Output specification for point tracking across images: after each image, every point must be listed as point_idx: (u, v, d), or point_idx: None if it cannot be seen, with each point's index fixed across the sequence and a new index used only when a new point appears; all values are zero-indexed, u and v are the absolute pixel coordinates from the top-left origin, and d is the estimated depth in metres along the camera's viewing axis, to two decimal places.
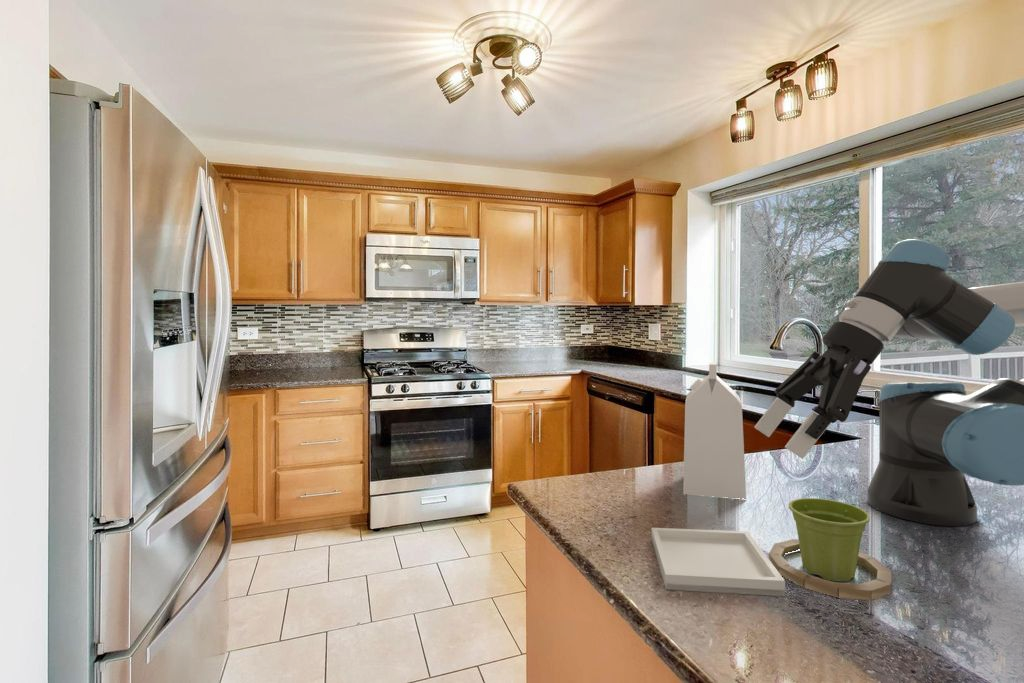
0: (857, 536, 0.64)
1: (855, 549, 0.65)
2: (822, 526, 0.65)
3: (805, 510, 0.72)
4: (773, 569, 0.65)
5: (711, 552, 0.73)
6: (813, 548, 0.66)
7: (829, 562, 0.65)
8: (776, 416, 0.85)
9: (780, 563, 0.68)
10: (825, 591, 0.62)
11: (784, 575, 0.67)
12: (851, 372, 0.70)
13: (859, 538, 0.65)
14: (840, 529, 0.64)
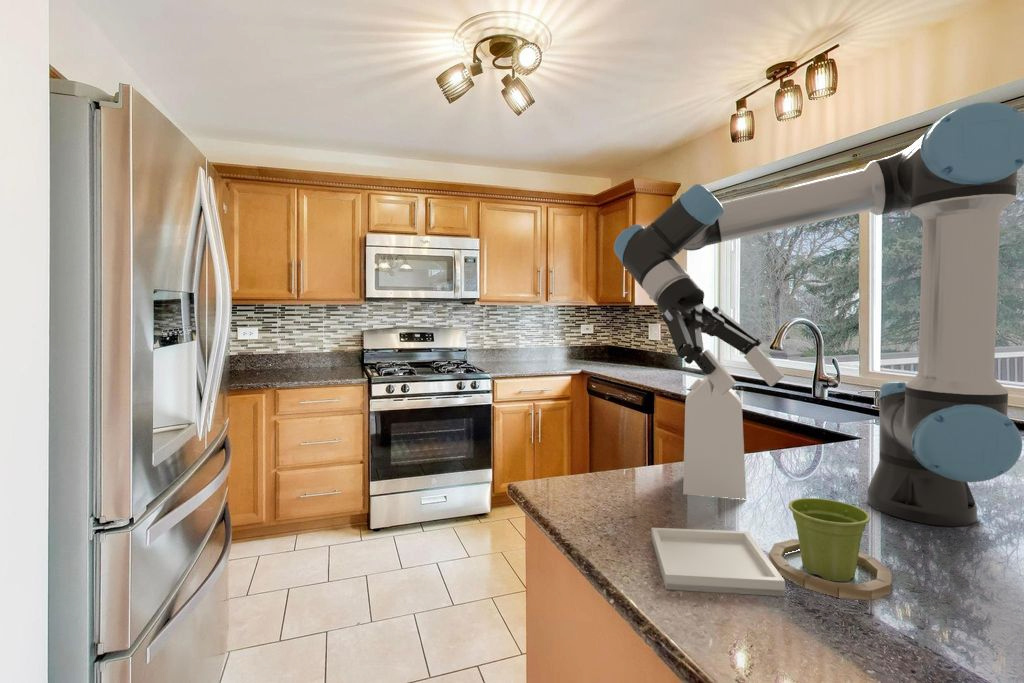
0: (857, 536, 0.64)
1: (855, 549, 0.65)
2: (822, 526, 0.65)
3: (805, 510, 0.72)
4: (773, 569, 0.65)
5: (711, 552, 0.73)
6: (814, 548, 0.66)
7: (829, 562, 0.65)
8: (761, 363, 0.81)
9: (780, 563, 0.68)
10: (825, 591, 0.62)
11: (784, 575, 0.67)
12: (669, 323, 0.80)
13: (859, 538, 0.65)
14: (840, 529, 0.64)
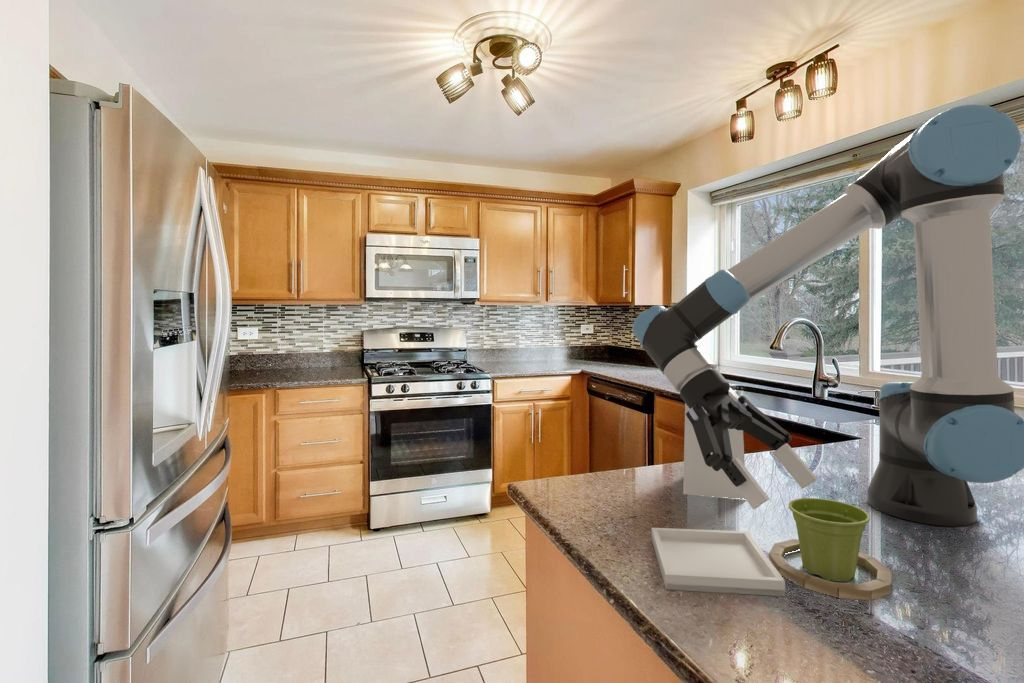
0: (857, 535, 0.64)
1: (855, 549, 0.65)
2: (822, 526, 0.65)
3: (805, 510, 0.72)
4: (773, 569, 0.65)
5: (711, 552, 0.73)
6: (813, 548, 0.66)
7: (829, 562, 0.65)
8: (792, 462, 0.77)
9: (780, 563, 0.68)
10: (825, 591, 0.62)
11: (784, 575, 0.67)
12: (694, 423, 0.76)
13: (859, 538, 0.65)
14: (840, 529, 0.64)
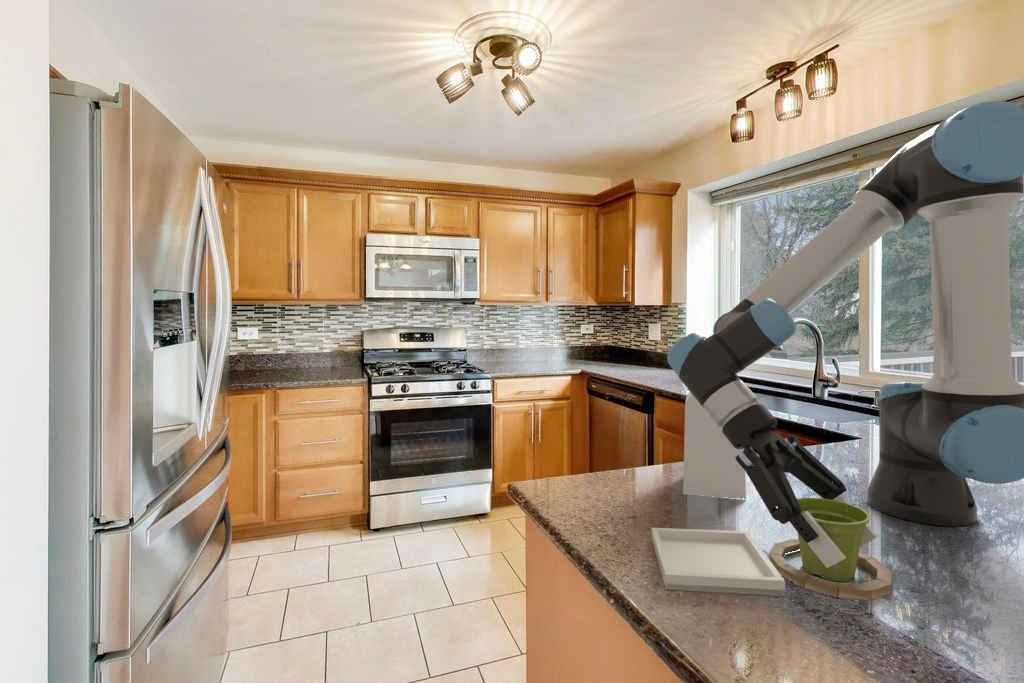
0: (857, 535, 0.64)
1: (855, 549, 0.65)
2: (822, 526, 0.65)
3: (805, 510, 0.72)
4: (773, 569, 0.65)
5: (711, 552, 0.73)
6: None
7: None
8: None
9: (780, 563, 0.68)
10: (825, 591, 0.62)
11: (784, 575, 0.67)
12: (748, 469, 0.70)
13: (859, 538, 0.65)
14: (840, 529, 0.64)
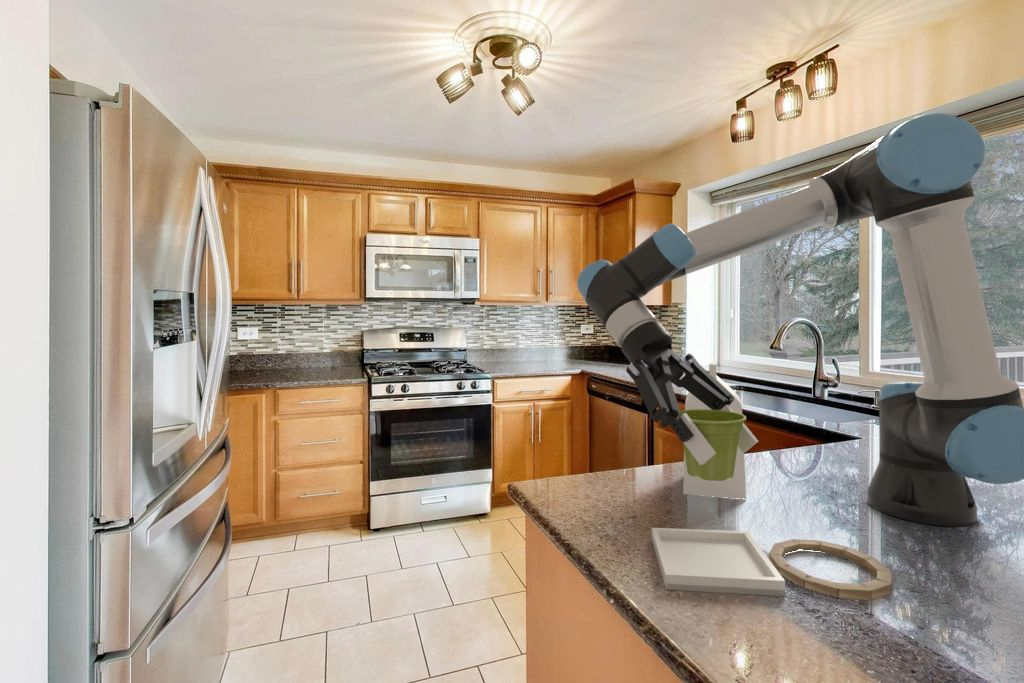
0: (732, 435, 0.66)
1: (731, 449, 0.67)
2: (698, 426, 0.66)
3: None
4: (773, 569, 0.65)
5: (711, 552, 0.73)
6: None
7: (706, 462, 0.67)
8: None
9: (780, 563, 0.68)
10: (825, 591, 0.62)
11: (784, 575, 0.67)
12: (636, 379, 0.72)
13: (734, 438, 0.67)
14: (714, 428, 0.66)
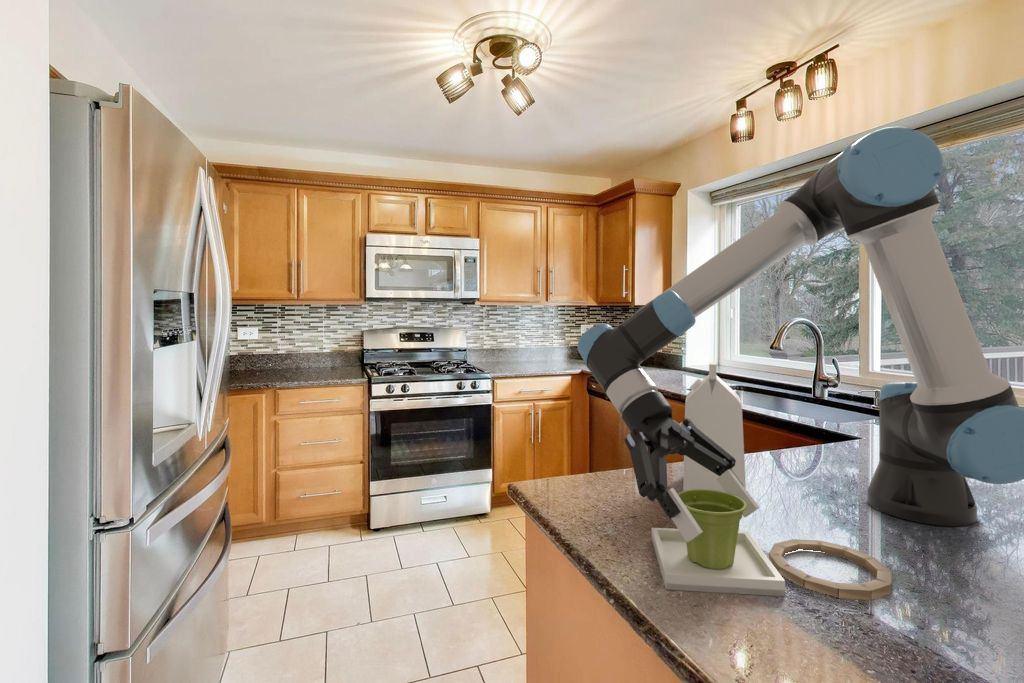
0: (732, 525, 0.67)
1: (731, 538, 0.67)
2: (698, 516, 0.67)
3: (694, 501, 0.74)
4: (773, 569, 0.65)
5: None
6: None
7: (706, 550, 0.67)
8: (734, 490, 0.74)
9: (780, 563, 0.68)
10: (825, 591, 0.62)
11: (784, 575, 0.67)
12: (632, 450, 0.73)
13: (735, 527, 0.67)
14: (715, 518, 0.66)
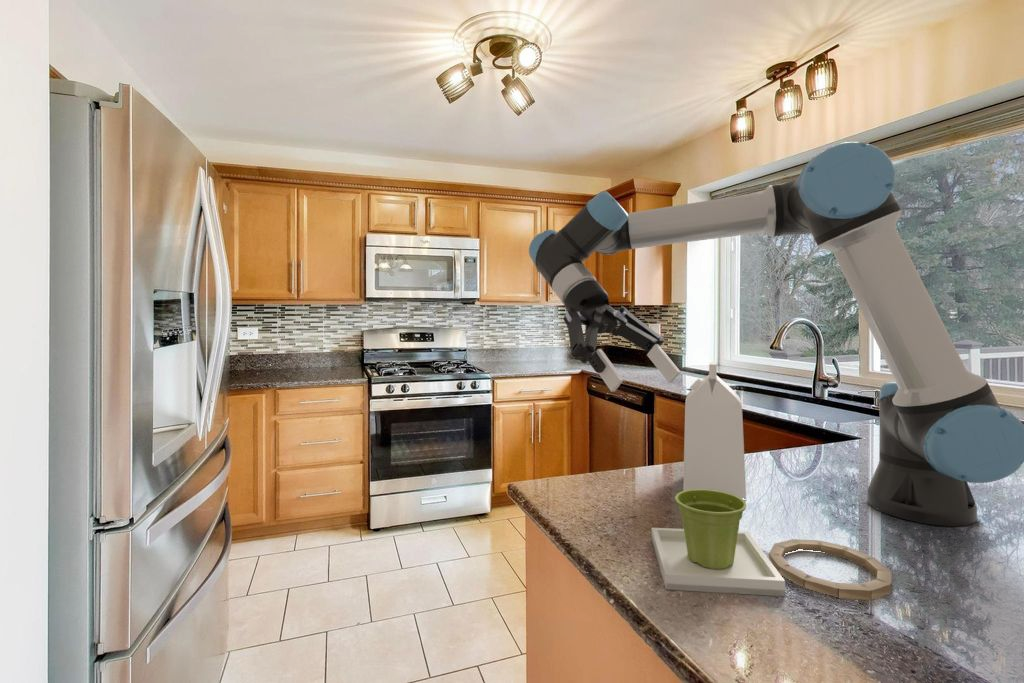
0: (732, 525, 0.67)
1: (731, 538, 0.67)
2: (698, 516, 0.67)
3: (694, 501, 0.74)
4: (773, 569, 0.65)
5: None
6: (693, 537, 0.69)
7: (706, 550, 0.67)
8: (661, 360, 0.84)
9: (780, 563, 0.68)
10: (825, 591, 0.62)
11: (784, 575, 0.67)
12: (569, 324, 0.83)
13: (735, 527, 0.67)
14: (715, 518, 0.66)
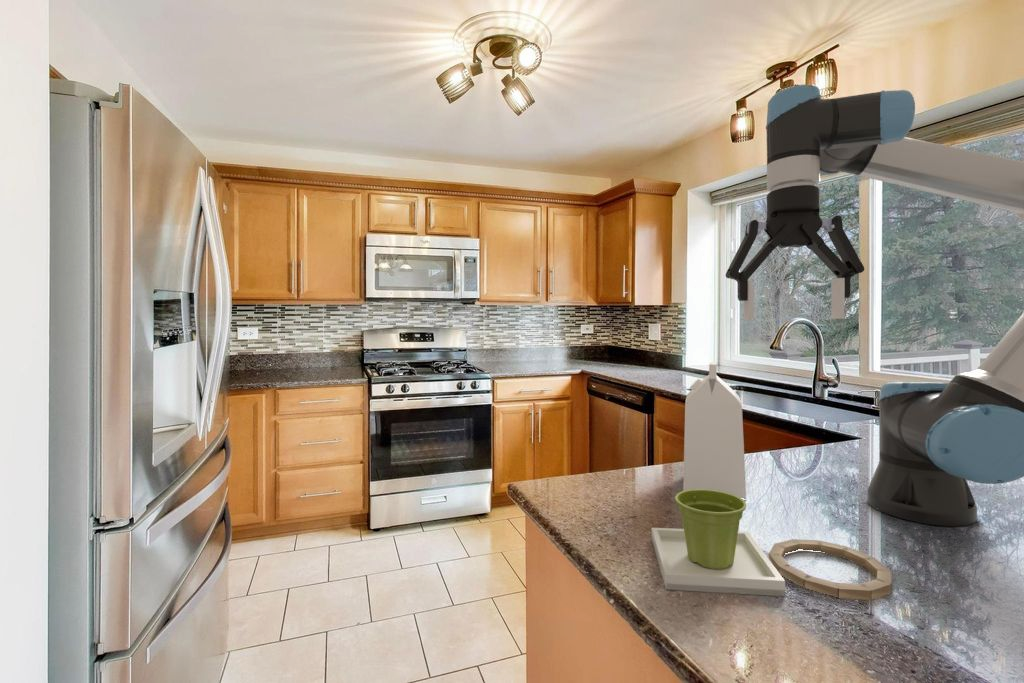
0: (732, 525, 0.67)
1: (731, 538, 0.67)
2: (698, 516, 0.67)
3: (694, 501, 0.74)
4: (773, 569, 0.65)
5: None
6: (693, 537, 0.69)
7: (706, 550, 0.67)
8: (835, 296, 0.79)
9: (780, 563, 0.68)
10: (825, 591, 0.62)
11: (784, 575, 0.67)
12: (745, 236, 0.82)
13: (735, 527, 0.67)
14: (715, 518, 0.66)
